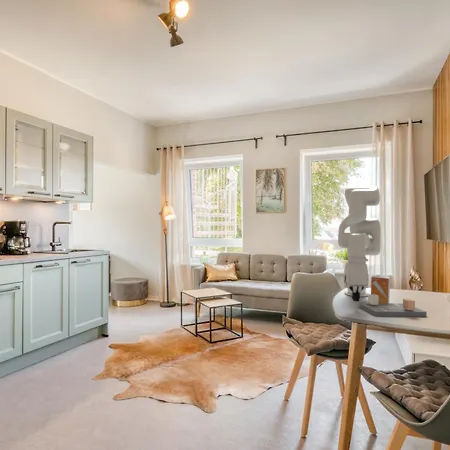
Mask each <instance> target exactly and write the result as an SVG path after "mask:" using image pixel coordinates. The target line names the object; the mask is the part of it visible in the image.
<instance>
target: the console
mask: <svg viewBox="0 0 450 450" xmlns="http://www.w3.org/2000/svg"><path fill="white" fill-rule="evenodd" d="M358 305H359V307H358V308H359V309H361V310H364V311H365V312H367V313H369V314H371V315H373V316H375V317H427V313H428V312H427V311H426V310H424V309H420V308H419V307H416V306H415V310H406V309H404V308H403V303H390V302H389V303H378V305H371V304H369V303H368V302H365V303H364V302H359V304H358Z"/></svg>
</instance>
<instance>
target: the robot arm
mask: <svg viewBox="0 0 450 450" xmlns="http://www.w3.org/2000/svg"><path fill="white" fill-rule="evenodd" d="M344 197H345V201H346V204H347V206H348V215H347V216H346V217H345V218H343V220H342V221H341V223H340V224H339V226H338V235H337V244H338V246H339V247H340V248H341V249H346V252H347V253H346V254H347V262H345V266H344V272H343V284H344V288H346V289H347V290H344V295H346V296H351V299H352V301H353V302H360V300H361V297H368V294H370V292H367V291H366V290H367V289H368V288H369V269H368V264H367V262H368V261H369V258H367V257H366V256H378V255H380V254H381V248H382V247H381V237H382V235H381V233H382V231H381V230H382V229H381V228H382V227H381V222H380V219H378V218H373V217H372V218H371V217H370V218H367V213H368V212H367V209H368V208H367V207H369V206H370V207H372V206H373V207H375V206H378V205H379V204H380V200H381V194H380V189H379V188H378V186H374V185H371V186H370V185H369V186H368V185H367V186H366V185H365V186H363V185H362V186H360V185H359V186H349V187H346V188H345V190H344ZM348 228H349V232H346V231H345V230H347V229H348Z"/></svg>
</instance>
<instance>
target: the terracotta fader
mask: <svg viewBox="0 0 450 450" xmlns="http://www.w3.org/2000/svg"><path fill="white" fill-rule="evenodd" d="M402 304H403V308H404V309H406V310H415V307H416V300H414V299H410V298H402Z"/></svg>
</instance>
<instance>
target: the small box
mask: <svg viewBox="0 0 450 450" xmlns="http://www.w3.org/2000/svg"><path fill="white" fill-rule="evenodd" d="M370 279H371V281H370V294H375V295H377V296H378V303H390V295H391V294H390V290H391V289H390V288H391V287H390V283H391V282H390V281H391V277H390V276H381V275H372V276H370Z"/></svg>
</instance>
